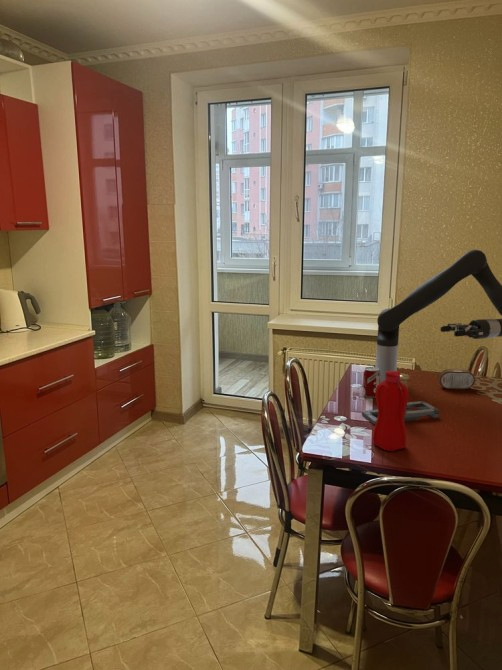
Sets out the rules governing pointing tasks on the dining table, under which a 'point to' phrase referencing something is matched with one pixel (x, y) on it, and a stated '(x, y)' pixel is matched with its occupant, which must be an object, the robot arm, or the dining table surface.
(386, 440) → the water bottle
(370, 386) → the soda can
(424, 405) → the grey ladder frame
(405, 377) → the pin
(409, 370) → the dining table surface
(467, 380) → the tin
